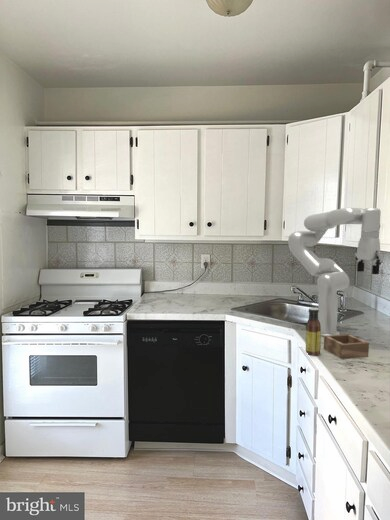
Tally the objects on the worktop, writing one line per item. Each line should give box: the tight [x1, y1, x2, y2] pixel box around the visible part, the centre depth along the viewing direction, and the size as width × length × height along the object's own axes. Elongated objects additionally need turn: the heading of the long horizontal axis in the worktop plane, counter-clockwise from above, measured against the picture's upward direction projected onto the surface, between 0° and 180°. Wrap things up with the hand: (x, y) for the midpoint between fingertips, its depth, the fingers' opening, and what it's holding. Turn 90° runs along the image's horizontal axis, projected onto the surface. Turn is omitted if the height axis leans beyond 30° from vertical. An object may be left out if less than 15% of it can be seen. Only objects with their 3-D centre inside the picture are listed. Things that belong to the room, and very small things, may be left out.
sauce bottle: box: [305, 307, 322, 356], centre depth 160 cm, size 6×6×20 cm
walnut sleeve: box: [323, 333, 370, 360], centre depth 162 cm, size 13×13×6 cm
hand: (367, 272), depth 170 cm, fingers open, 9 cm apart
